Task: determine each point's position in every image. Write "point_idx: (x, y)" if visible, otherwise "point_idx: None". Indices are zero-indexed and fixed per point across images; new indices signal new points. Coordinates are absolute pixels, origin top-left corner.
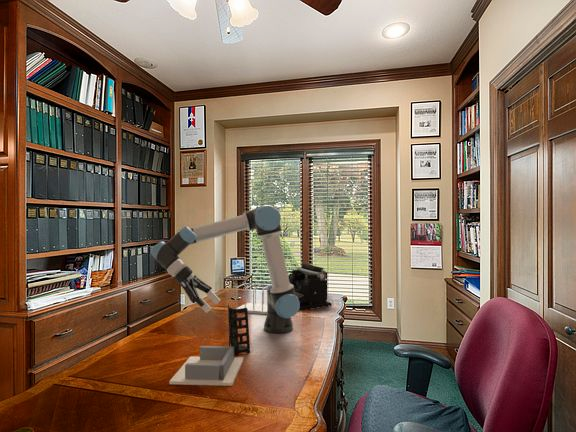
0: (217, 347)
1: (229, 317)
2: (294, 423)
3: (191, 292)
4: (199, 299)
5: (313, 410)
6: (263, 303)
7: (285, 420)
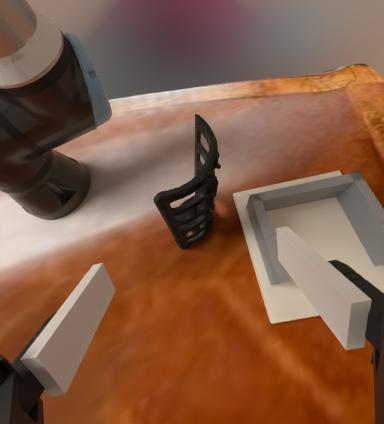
0: (271, 230)
1: (205, 196)
2: (374, 79)
3: None
4: (373, 302)
5: (335, 72)
6: None
7: (375, 87)
